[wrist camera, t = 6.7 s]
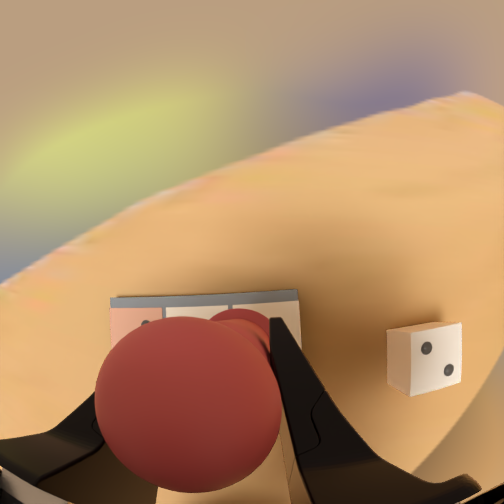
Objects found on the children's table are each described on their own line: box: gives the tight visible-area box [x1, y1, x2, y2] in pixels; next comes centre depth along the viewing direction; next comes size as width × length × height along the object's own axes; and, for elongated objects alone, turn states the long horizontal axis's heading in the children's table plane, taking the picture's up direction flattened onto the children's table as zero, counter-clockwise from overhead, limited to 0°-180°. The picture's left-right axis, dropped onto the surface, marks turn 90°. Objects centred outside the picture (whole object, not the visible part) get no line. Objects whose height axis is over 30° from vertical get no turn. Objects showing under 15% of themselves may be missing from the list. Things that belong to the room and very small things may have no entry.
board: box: [110, 289, 302, 350], centre depth 21 cm, size 15×6×1 cm, turn 93°
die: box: [386, 322, 462, 397], centre depth 18 cm, size 4×4×5 cm
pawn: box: [95, 308, 282, 493], centre depth 9 cm, size 4×4×12 cm
